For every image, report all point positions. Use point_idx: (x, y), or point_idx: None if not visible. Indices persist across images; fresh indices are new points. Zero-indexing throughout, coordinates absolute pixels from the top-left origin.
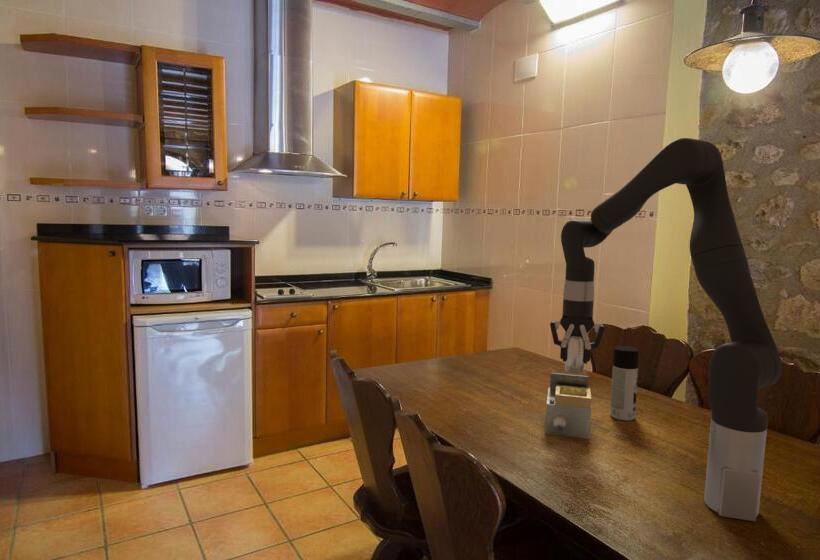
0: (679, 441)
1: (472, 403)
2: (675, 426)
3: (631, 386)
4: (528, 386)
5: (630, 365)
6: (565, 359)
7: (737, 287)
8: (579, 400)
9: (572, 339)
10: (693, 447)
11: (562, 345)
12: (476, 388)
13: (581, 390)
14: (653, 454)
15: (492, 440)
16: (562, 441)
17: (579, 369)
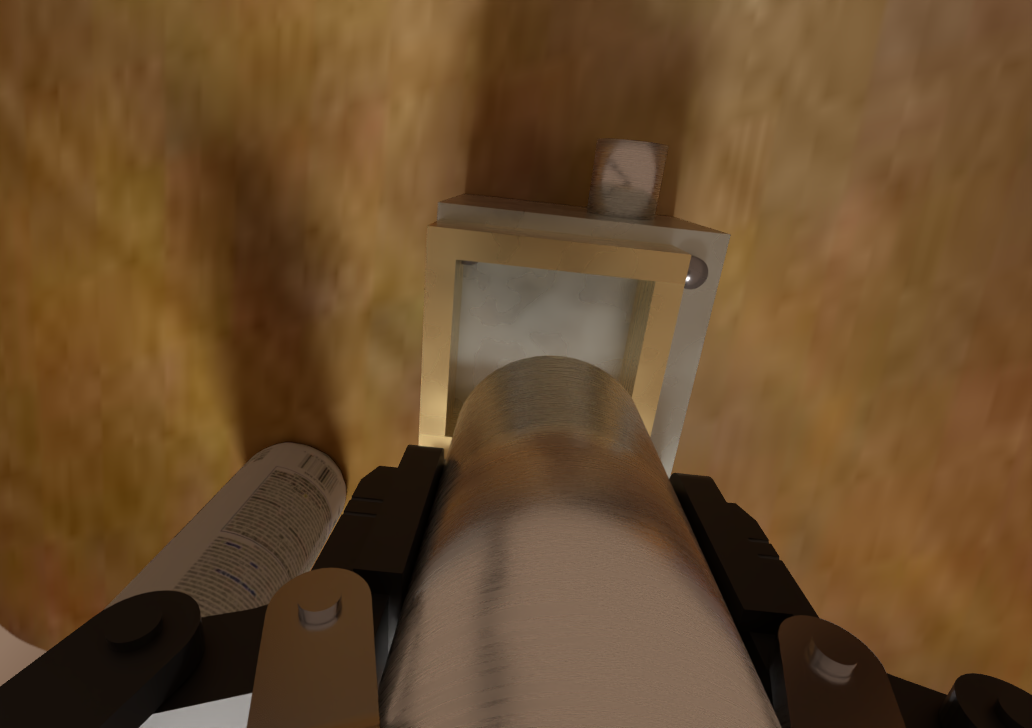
0: (65, 262)
1: (957, 511)
2: (86, 426)
3: (165, 554)
4: None
5: None
6: (683, 481)
7: None
8: (513, 232)
9: None
10: (4, 204)
11: (850, 649)
12: (893, 670)
13: None
14: (175, 68)
15: (979, 54)
16: (601, 132)
17: (507, 377)
